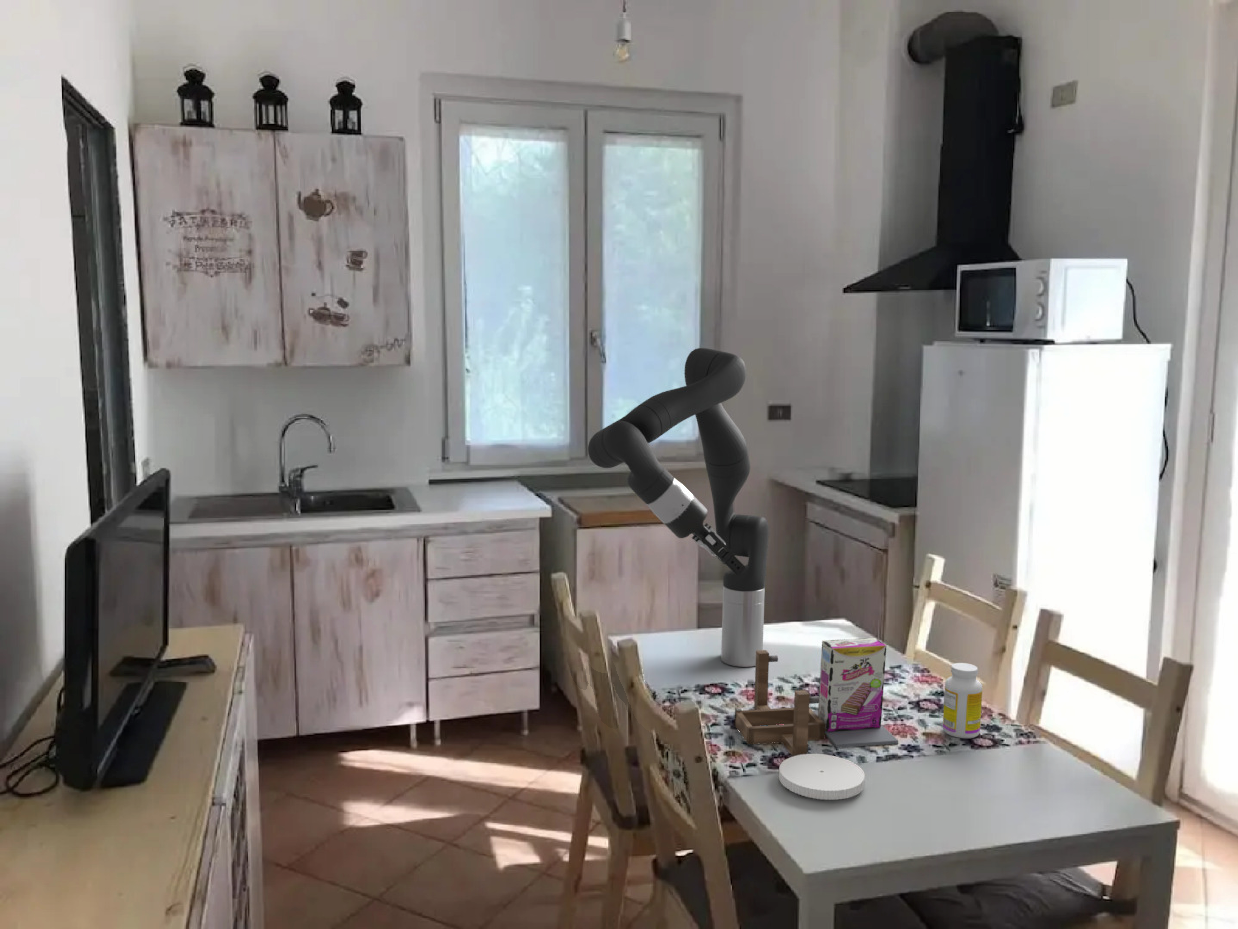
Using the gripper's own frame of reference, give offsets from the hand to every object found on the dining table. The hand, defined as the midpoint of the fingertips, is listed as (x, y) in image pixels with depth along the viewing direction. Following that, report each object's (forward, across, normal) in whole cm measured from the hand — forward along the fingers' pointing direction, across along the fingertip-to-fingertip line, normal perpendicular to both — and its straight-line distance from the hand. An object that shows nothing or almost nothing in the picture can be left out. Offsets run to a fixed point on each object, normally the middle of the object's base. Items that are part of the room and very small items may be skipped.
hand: (734, 566), depth 194 cm
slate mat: (+37, -6, +6) cm, 38 cm away
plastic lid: (+27, -27, +17) cm, 42 cm away
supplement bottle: (+51, -11, -8) cm, 53 cm away
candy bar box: (+37, -6, +6) cm, 38 cm away
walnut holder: (+27, -6, +16) cm, 32 cm away
